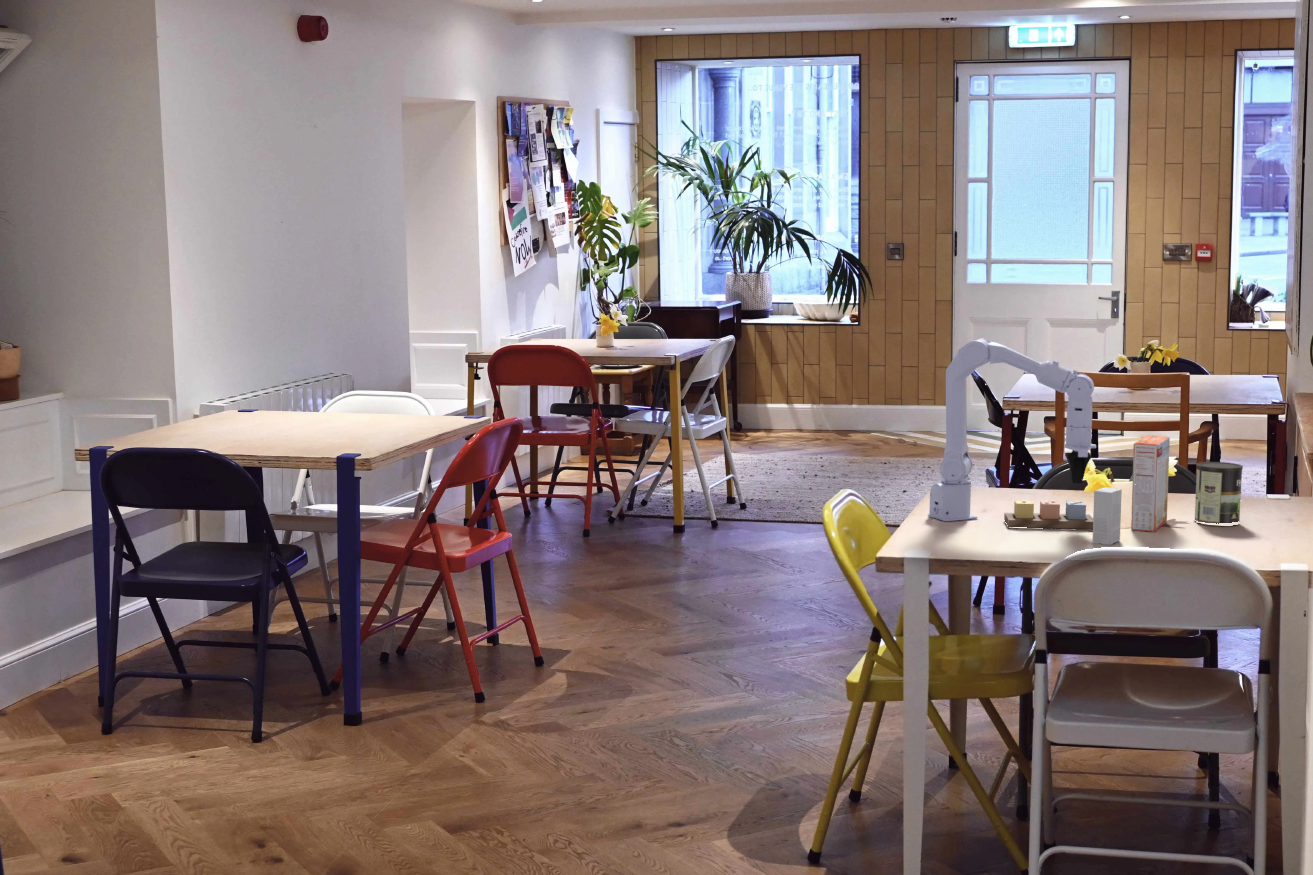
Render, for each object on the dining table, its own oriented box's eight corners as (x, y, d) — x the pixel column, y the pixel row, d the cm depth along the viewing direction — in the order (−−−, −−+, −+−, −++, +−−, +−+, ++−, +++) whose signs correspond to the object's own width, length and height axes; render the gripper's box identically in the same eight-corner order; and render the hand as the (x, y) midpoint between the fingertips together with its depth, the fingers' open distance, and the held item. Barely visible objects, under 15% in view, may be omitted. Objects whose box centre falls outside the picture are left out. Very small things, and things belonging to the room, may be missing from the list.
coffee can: (1238, 519, 338) (1241, 462, 336) (1241, 528, 328) (1244, 469, 326) (1192, 517, 341) (1195, 460, 339) (1194, 525, 331) (1197, 467, 329)
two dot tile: (1042, 518, 330) (1042, 502, 329) (1039, 515, 334) (1040, 499, 333) (1059, 519, 329) (1059, 503, 329) (1056, 515, 333) (1057, 500, 333)
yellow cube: (1016, 518, 331) (1016, 502, 330) (1014, 514, 335) (1014, 499, 334) (1033, 518, 330) (1033, 502, 330) (1031, 515, 334) (1031, 499, 333)
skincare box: (1101, 538, 317) (1104, 486, 315) (1120, 541, 314) (1122, 488, 313) (1091, 543, 313) (1093, 490, 311) (1109, 545, 310) (1112, 492, 308)
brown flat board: (1008, 528, 329) (1008, 519, 328) (1004, 520, 338) (1004, 512, 337) (1095, 530, 326) (1096, 521, 326) (1089, 522, 335) (1089, 514, 335)
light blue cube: (1068, 519, 329) (1068, 503, 329) (1065, 515, 333) (1066, 500, 332) (1085, 519, 329) (1086, 503, 328) (1082, 516, 332) (1083, 500, 332)
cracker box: (1141, 520, 338) (1145, 434, 335) (1167, 522, 335) (1171, 436, 332) (1128, 530, 326) (1132, 441, 323) (1155, 532, 323) (1159, 443, 320)
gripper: (1102, 430, 320) (1099, 488, 322) (1091, 422, 334) (1088, 478, 336) (1070, 429, 321) (1068, 487, 323) (1060, 421, 335) (1058, 477, 337)
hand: (1076, 482), depth 330 cm, fingers closed
